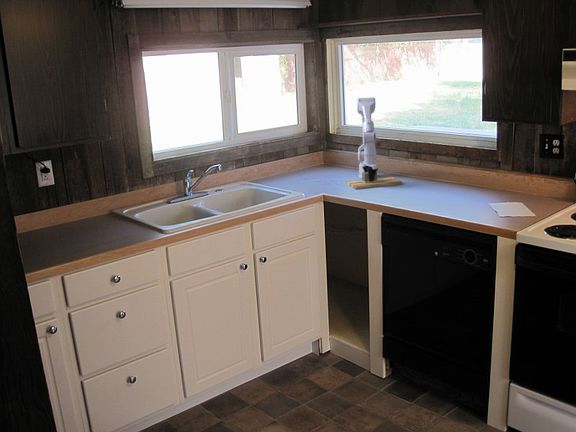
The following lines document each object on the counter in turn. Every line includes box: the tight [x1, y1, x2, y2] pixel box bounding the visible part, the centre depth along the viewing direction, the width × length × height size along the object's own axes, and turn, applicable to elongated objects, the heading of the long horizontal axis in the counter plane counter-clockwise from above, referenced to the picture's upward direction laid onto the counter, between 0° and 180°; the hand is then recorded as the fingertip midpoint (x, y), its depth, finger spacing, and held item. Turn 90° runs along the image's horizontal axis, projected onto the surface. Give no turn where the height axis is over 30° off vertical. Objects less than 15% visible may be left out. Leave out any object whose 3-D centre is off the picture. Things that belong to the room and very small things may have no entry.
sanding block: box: [361, 171, 378, 183], centre depth 331 cm, size 4×7×5 cm, turn 104°
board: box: [346, 176, 403, 190], centre depth 333 cm, size 14×26×2 cm, turn 104°
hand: (370, 180), depth 332 cm, fingers closed on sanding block, 4 cm apart
